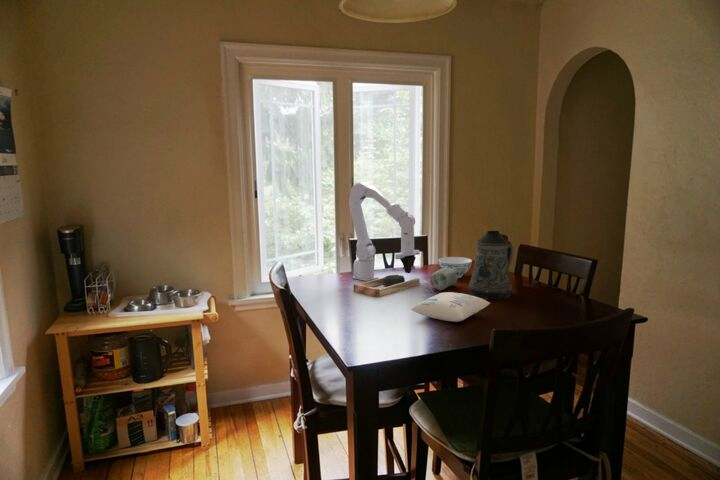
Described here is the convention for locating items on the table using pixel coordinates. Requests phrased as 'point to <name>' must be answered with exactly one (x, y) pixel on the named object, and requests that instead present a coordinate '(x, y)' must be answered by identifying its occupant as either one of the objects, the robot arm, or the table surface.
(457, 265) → the chinaware
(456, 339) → the table surface
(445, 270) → the streaked ceramic egg
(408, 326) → the table surface
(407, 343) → the table surface
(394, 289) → the guide track
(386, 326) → the table surface
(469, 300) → the pouch
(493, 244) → the beer stein
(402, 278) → the smart speaker
